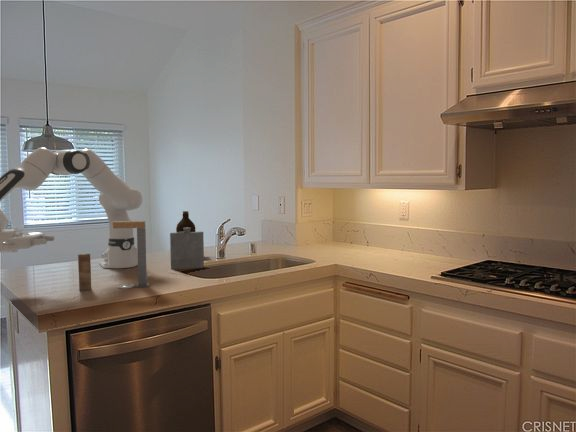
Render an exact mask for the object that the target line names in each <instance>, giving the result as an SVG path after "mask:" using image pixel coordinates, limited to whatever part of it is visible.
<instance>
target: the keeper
mask: <svg viewBox="0 0 576 432" xmlns="http://www.w3.org/2000/svg"><path fill="white" fill-rule="evenodd" d="M113 228H133V229H136V241H137V242H136V244H137V245H136V246H137V247H136V248H137V253H138V265H137V275H138V276H137V280H138V281H137V283H136V284H134V283H123V284H119V285H117V286H116V288H117V289H123V290H124V289H125V290H127V289H132V288H137V289H138V288H149V286H150V282H148V278H147V275H148V274H147V273H148V272H147V271H148V270H147V240H146V239H147V238H146V236H147V235H146V232H147V231H146V230H147V229H146V220H134V221H133V220H132V221H116V222H113Z"/></svg>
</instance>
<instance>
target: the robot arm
mask: <svg viewBox="0 0 576 432" xmlns="http://www.w3.org/2000/svg"><path fill="white" fill-rule="evenodd" d="M50 174H52V175H54V176H55V175H56V176H70V175H79V174H82V176H84V178H85V179H86V180H87V181H88V183H89V184H91V185H92V186H93V188H94V189H95V190H97V191H98V192H100V193H99V196H98V201H99V203H100V205H101V207H103V209H104V210H105V214H106V216H107V219H108V225H109V226H108V227H109V238H108V242H107V243H108V245H107V248H106V249H105V251H104V252H103V253H101V258H102V259H103V260H102V261H99V262H98V264H99V265H100V267H102V268H103V269H125V268H134V267H138V252H137V247H136V246H135V241H136V240H135V237H134V228H113V222H116V221H133V220H132V219H131V218H130V217H129V215H128V211H134V210H137V209H138V208H140V207H141V205H142V203H143V195H142V193H141V192H140V191H139V190H137V189H135V188H134V187H131V186H130V185H129V184H127V183H126V182H125V181H123V179H121V178H119V177H118V176H117V175H116V174H115V173H114V172H113V171H112V169H111V168H110V167H109V166H108V165H107V164H106V162H105V161H104V160H103V159H102V158H101V157H100V156H99V155H98V154H97V153H96V152H94V151H93V150H91V149H89V148H83V149H80V150H78V149H61V150H55V151H52V150H51V149H48V148H46V147H38V148H36V149H35V150H33V151H31V153H29V154H28V156H26V157H25V158H23V160H22V162H21V163H19V165H18V166H16V167H15V168H11V169H9V170H8V171H7V172H5V173H4V174H3V175H2V176H0V203H1V202H2V201H3V200H4V199H5V198H6V196H8V195H9V194H10V193H11V192H12V191H13V190H14V189H16V188H20V189H23V190H25V191H32V190H37V189H38V188H40V187H41V186H42V184H43V183H44V182H45V181H46V180H47V179H48V177H49V176H50ZM8 225H9V220H8V217H7V215H6V214H5V213H4V212H3V210H2V209H1V208H0V253H1V254H2V253H3V254H4V253H17V252H18V251H19V250H22V249H23V250H24V249H30V248H32V247H35V246H38V245H39V246H41V245H47V244H48V242H53V241H55V236H54V235H45V234H46V233H44V232H38V231H24V229H17V228H14V229H10V228H9V229H8Z"/></svg>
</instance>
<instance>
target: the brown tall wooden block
mask: <svg viewBox="0 0 576 432" xmlns="http://www.w3.org/2000/svg"><path fill="white" fill-rule="evenodd" d="M77 260H78V261H77V263H78V264H77V265H78V267H77V268H78V288H79V291H80V290H81V291H80V292H84V291H85V292H86V291H90V290H92V271H91V270H92V267H91V264H92V263H91V253H79V254H77Z"/></svg>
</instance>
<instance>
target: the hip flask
mask: <svg viewBox="0 0 576 432" xmlns="http://www.w3.org/2000/svg"><path fill="white" fill-rule="evenodd" d="M190 229H191V228H189V227H186V228H183V230H184V232H177V233H176V232H170V233H169V239H170V240H169V244H170V247H169V248H170V249H169V250H170V270H190V269H191V270H193V269H203V268H204V267H205V262H204V261H205V259H204V258H205V257H204V256H205V255H204V253H205V252H204V251H205V250H204V247H205V246H204V244H205V242H204V231H195V232H190Z"/></svg>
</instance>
